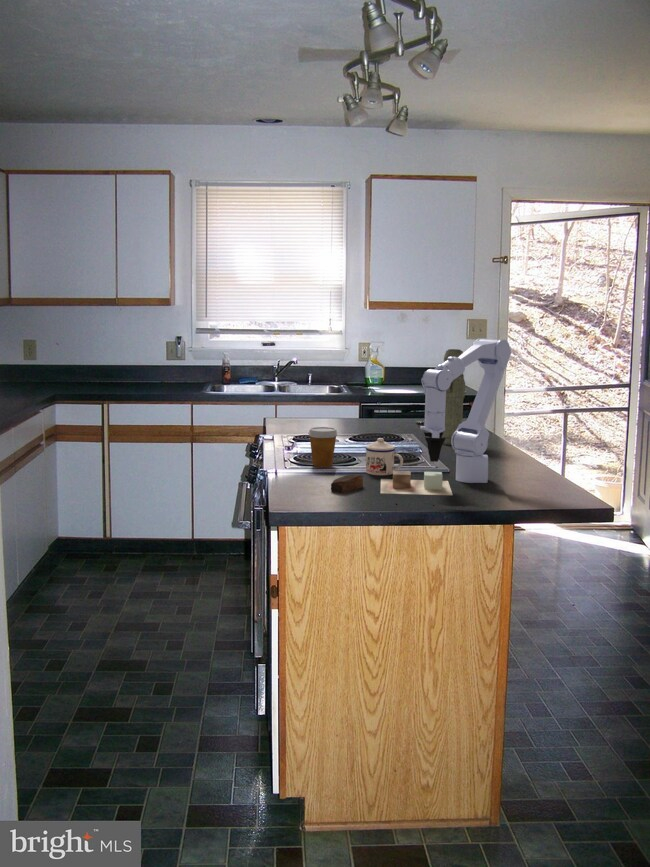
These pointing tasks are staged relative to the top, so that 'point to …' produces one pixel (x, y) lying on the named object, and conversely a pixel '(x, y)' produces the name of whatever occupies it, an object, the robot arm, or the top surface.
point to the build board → (414, 488)
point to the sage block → (433, 480)
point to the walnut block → (401, 479)
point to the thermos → (453, 401)
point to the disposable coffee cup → (322, 445)
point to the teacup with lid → (381, 458)
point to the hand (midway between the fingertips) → (433, 458)
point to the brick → (347, 483)
